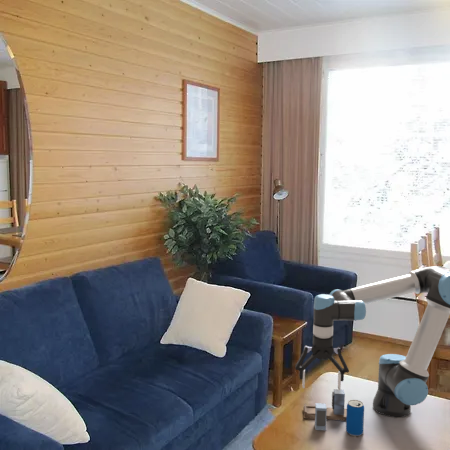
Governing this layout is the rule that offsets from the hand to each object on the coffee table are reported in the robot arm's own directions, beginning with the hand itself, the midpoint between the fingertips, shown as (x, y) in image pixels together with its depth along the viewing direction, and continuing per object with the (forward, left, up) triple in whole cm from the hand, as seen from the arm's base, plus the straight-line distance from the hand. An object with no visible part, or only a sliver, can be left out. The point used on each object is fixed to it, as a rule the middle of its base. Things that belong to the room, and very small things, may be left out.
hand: (321, 387), depth 198 cm
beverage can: (-13, +2, -16) cm, 21 cm away
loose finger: (0, 0, -16) cm, 16 cm away
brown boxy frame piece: (-3, -10, -16) cm, 19 cm away
